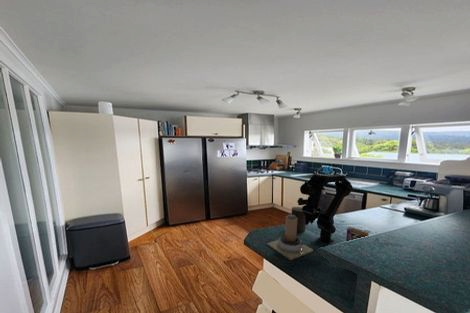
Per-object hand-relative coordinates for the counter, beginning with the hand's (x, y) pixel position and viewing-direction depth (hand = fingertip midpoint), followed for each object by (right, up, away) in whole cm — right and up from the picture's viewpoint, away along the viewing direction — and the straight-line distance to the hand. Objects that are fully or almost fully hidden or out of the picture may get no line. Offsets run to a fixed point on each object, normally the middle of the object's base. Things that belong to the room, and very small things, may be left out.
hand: (308, 224), depth 115 cm
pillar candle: (+1, -11, +24) cm, 26 cm away
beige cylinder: (-11, -8, -2) cm, 14 cm away
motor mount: (-11, -12, -2) cm, 17 cm away
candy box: (+19, -14, -11) cm, 27 cm away
